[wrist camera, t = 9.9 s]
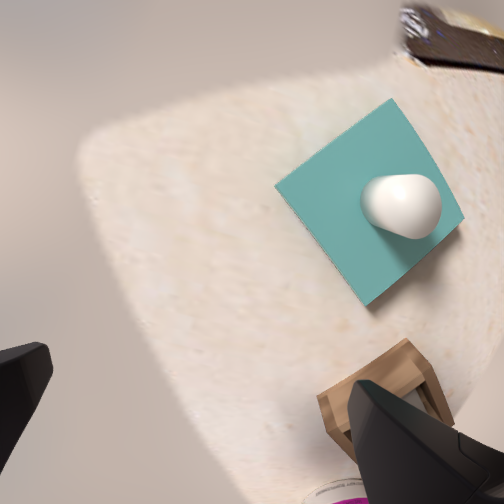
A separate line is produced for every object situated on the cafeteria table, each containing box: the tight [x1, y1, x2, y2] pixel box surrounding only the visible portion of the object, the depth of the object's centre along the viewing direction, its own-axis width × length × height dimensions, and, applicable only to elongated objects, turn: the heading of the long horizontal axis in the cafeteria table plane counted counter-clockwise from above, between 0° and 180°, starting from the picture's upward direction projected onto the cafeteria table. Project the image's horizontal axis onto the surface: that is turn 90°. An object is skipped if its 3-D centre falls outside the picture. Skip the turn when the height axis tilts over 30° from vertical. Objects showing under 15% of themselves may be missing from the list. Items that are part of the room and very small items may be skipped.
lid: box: [274, 98, 464, 306], centre depth 16 cm, size 9×9×6 cm
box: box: [317, 338, 455, 465], centre depth 20 cm, size 8×8×4 cm
